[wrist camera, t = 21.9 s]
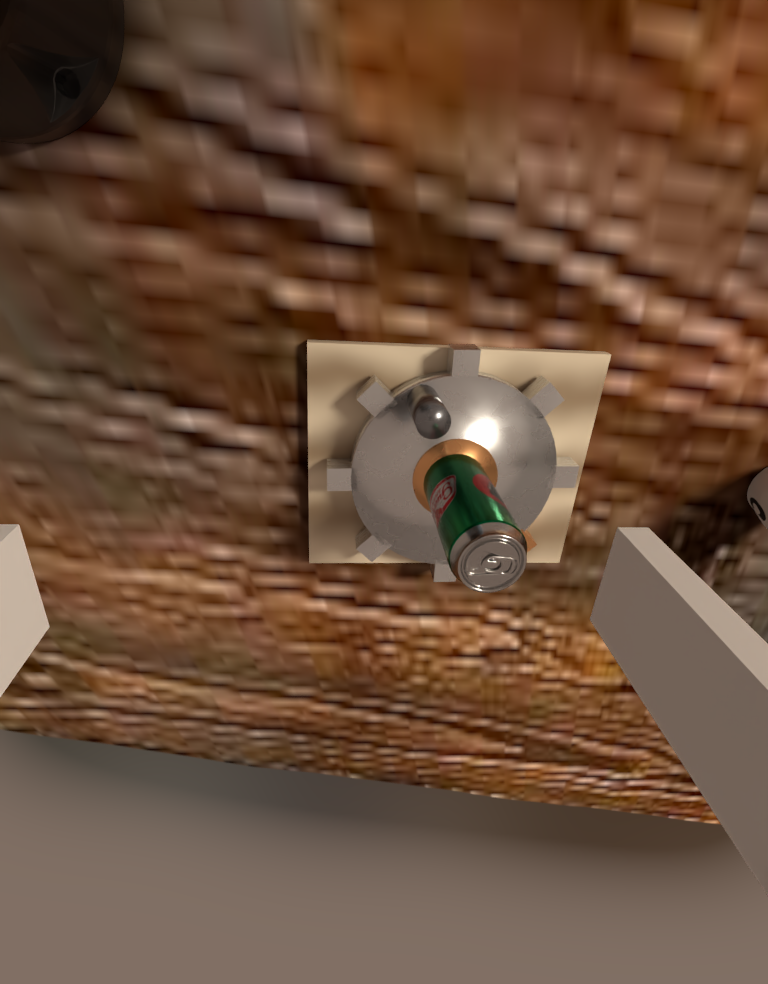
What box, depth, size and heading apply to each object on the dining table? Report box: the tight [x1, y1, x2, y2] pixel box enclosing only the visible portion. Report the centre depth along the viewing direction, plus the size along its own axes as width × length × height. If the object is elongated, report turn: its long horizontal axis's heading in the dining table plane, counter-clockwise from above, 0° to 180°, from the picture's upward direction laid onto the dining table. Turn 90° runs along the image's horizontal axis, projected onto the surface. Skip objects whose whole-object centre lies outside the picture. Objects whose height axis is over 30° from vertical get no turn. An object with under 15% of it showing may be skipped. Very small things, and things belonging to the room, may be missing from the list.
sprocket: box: [327, 344, 579, 582], centre depth 42 cm, size 21×21×7 cm
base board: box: [307, 340, 611, 563], centre depth 46 cm, size 20×24×1 cm
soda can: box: [423, 454, 527, 593], centre depth 37 cm, size 5×5×12 cm
